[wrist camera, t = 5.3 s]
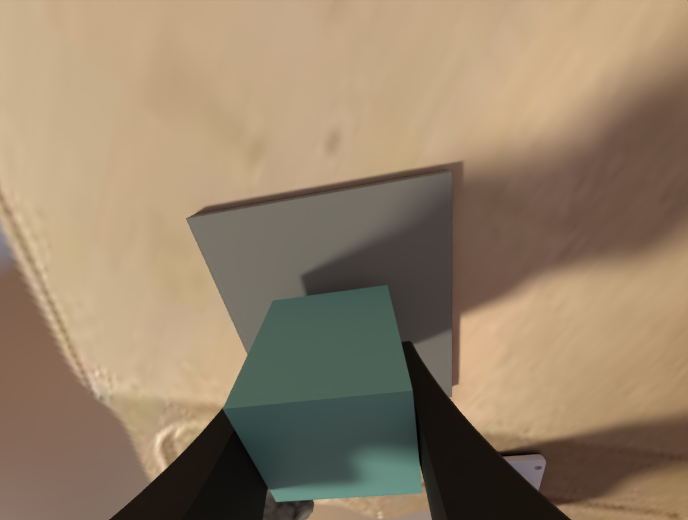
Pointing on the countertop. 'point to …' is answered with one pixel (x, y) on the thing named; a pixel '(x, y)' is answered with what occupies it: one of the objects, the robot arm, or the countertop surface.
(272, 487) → the teal cube
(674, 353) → the countertop surface
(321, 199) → the charcoal mat
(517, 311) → the countertop surface
